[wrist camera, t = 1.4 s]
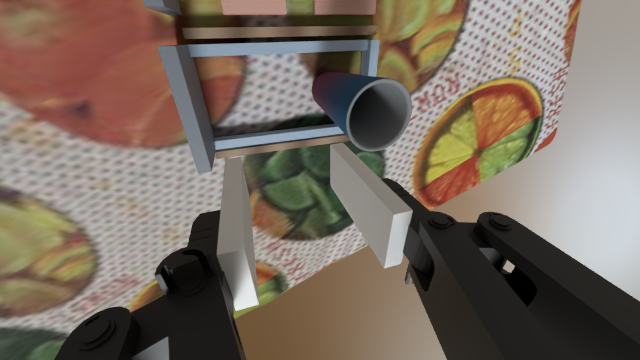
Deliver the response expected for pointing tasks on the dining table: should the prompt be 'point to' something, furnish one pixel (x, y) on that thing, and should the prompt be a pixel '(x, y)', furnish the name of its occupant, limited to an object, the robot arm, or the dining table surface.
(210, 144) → the frame
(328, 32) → the lane guides
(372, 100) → the cup
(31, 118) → the dining table surface
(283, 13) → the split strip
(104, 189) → the dining table surface
